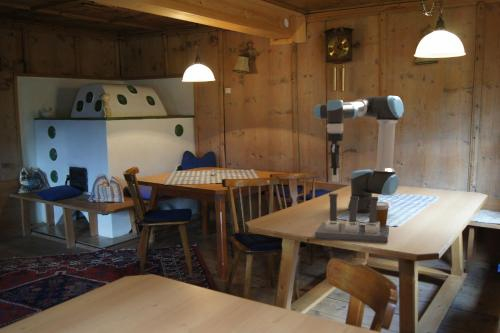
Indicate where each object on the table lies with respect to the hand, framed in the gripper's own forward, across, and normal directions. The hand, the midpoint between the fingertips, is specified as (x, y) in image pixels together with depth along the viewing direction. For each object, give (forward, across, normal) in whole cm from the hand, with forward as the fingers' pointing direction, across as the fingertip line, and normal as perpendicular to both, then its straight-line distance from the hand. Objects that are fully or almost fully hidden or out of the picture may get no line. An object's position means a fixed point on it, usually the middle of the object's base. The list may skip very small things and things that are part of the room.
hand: (335, 181), depth 229 cm
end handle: (+17, +7, +18) cm, 26 cm away
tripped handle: (+17, +7, 0) cm, 18 cm away
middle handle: (+17, +7, +9) cm, 20 cm away
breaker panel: (+24, +7, +9) cm, 27 cm away
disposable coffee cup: (+24, -10, +20) cm, 33 cm away
